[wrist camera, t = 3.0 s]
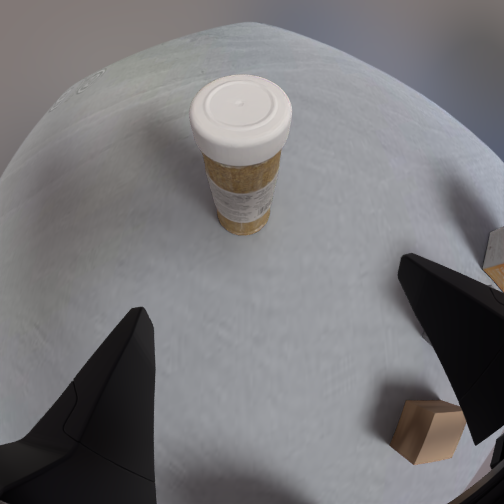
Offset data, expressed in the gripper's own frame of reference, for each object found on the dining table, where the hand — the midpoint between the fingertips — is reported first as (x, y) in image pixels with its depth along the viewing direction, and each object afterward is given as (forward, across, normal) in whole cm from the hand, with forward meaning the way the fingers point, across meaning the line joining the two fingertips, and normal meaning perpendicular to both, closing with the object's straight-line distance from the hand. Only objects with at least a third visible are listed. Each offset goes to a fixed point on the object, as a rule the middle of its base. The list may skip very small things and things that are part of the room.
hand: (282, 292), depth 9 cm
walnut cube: (-1, -13, +21) cm, 24 cm away
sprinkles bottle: (+15, 0, +4) cm, 16 cm away
